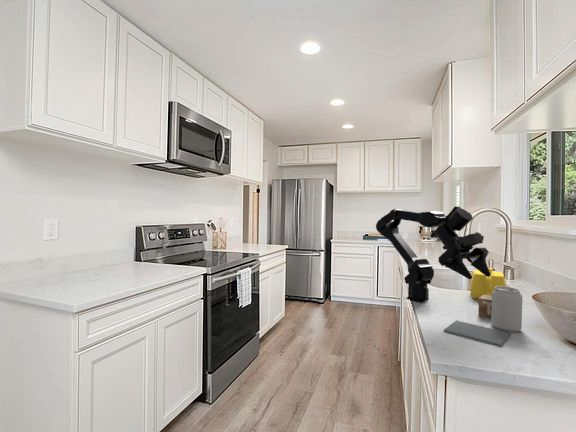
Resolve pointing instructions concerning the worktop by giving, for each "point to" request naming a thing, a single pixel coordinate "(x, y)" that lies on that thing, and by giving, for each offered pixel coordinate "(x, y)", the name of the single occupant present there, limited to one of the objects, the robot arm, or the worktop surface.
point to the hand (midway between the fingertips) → (480, 277)
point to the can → (506, 309)
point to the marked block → (485, 306)
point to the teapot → (485, 283)
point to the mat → (478, 333)
